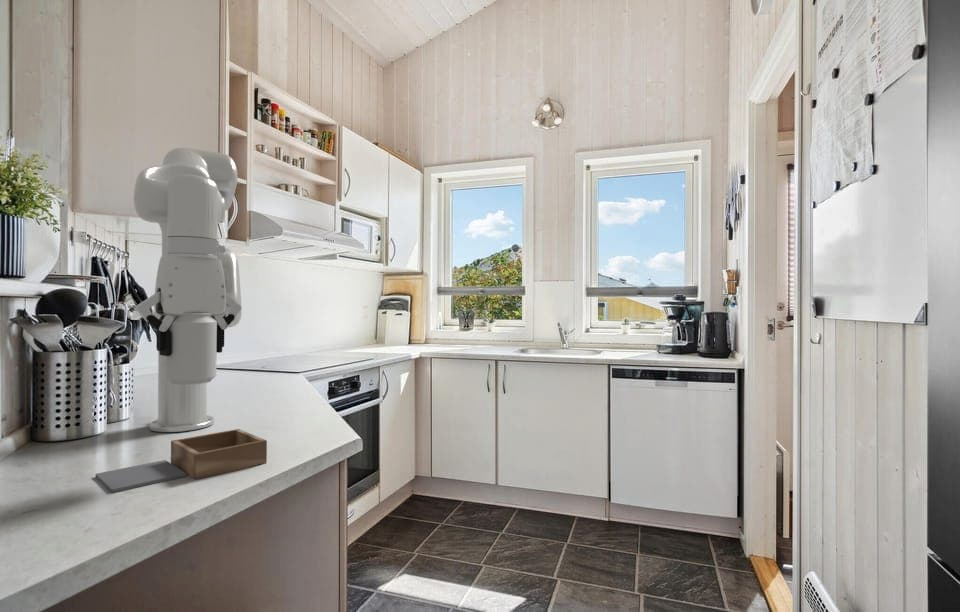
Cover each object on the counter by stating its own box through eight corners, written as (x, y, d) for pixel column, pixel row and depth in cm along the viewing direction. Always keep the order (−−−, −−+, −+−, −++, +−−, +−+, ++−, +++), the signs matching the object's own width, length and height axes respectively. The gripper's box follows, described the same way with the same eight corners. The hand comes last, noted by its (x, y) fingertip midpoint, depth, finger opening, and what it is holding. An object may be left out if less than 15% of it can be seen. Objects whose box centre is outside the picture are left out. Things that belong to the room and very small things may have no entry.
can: (195, 386, 82) (196, 312, 82) (154, 384, 84) (155, 311, 84) (225, 379, 90) (226, 311, 90) (188, 377, 91) (188, 310, 91)
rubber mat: (95, 476, 82) (95, 473, 82) (165, 462, 89) (165, 459, 89) (112, 493, 75) (112, 489, 75) (186, 476, 83) (186, 473, 83)
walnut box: (170, 463, 89) (170, 440, 89) (238, 449, 98) (238, 428, 98) (195, 479, 81) (196, 454, 81) (266, 462, 90) (266, 440, 90)
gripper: (233, 255, 96) (233, 348, 96) (125, 246, 82) (124, 355, 82) (253, 253, 91) (252, 351, 91) (141, 243, 77) (140, 359, 78)
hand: (191, 352), depth 87 cm, fingers closed on can, 7 cm apart
